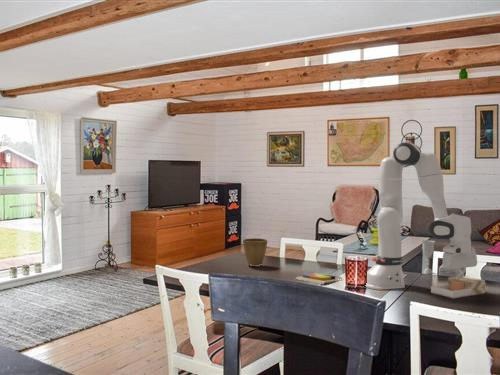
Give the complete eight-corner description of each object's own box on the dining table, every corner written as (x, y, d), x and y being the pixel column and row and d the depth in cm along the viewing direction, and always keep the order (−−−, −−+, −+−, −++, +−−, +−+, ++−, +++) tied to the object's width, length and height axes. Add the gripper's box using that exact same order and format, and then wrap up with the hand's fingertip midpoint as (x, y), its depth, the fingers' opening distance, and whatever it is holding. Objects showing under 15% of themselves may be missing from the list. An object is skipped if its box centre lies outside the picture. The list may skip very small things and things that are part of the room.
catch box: (453, 298, 208) (453, 291, 208) (430, 292, 219) (431, 286, 219) (470, 295, 214) (470, 288, 214) (448, 290, 225) (448, 283, 225)
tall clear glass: (425, 274, 263) (425, 242, 263) (418, 271, 270) (419, 240, 269) (437, 273, 264) (437, 241, 264) (430, 271, 271) (430, 240, 271)
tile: (463, 293, 217) (460, 293, 215) (454, 290, 221) (451, 291, 220) (464, 282, 217) (460, 282, 215) (454, 280, 221) (451, 280, 220)
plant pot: (238, 265, 288) (238, 239, 288) (260, 263, 295) (260, 237, 294) (248, 269, 275) (249, 241, 275) (271, 267, 281) (271, 240, 281)
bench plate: (470, 295, 214) (470, 282, 214) (448, 290, 225) (448, 277, 225) (484, 293, 219) (484, 280, 219) (462, 287, 229) (462, 275, 229)
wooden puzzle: (342, 280, 247) (342, 274, 247) (323, 286, 233) (323, 279, 233) (315, 276, 259) (315, 269, 259) (294, 281, 245) (294, 274, 245)
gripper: (469, 245, 227) (468, 274, 227) (440, 248, 217) (439, 278, 217) (480, 247, 222) (480, 276, 222) (451, 250, 212) (451, 280, 212)
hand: (460, 277), depth 220 cm, fingers closed
